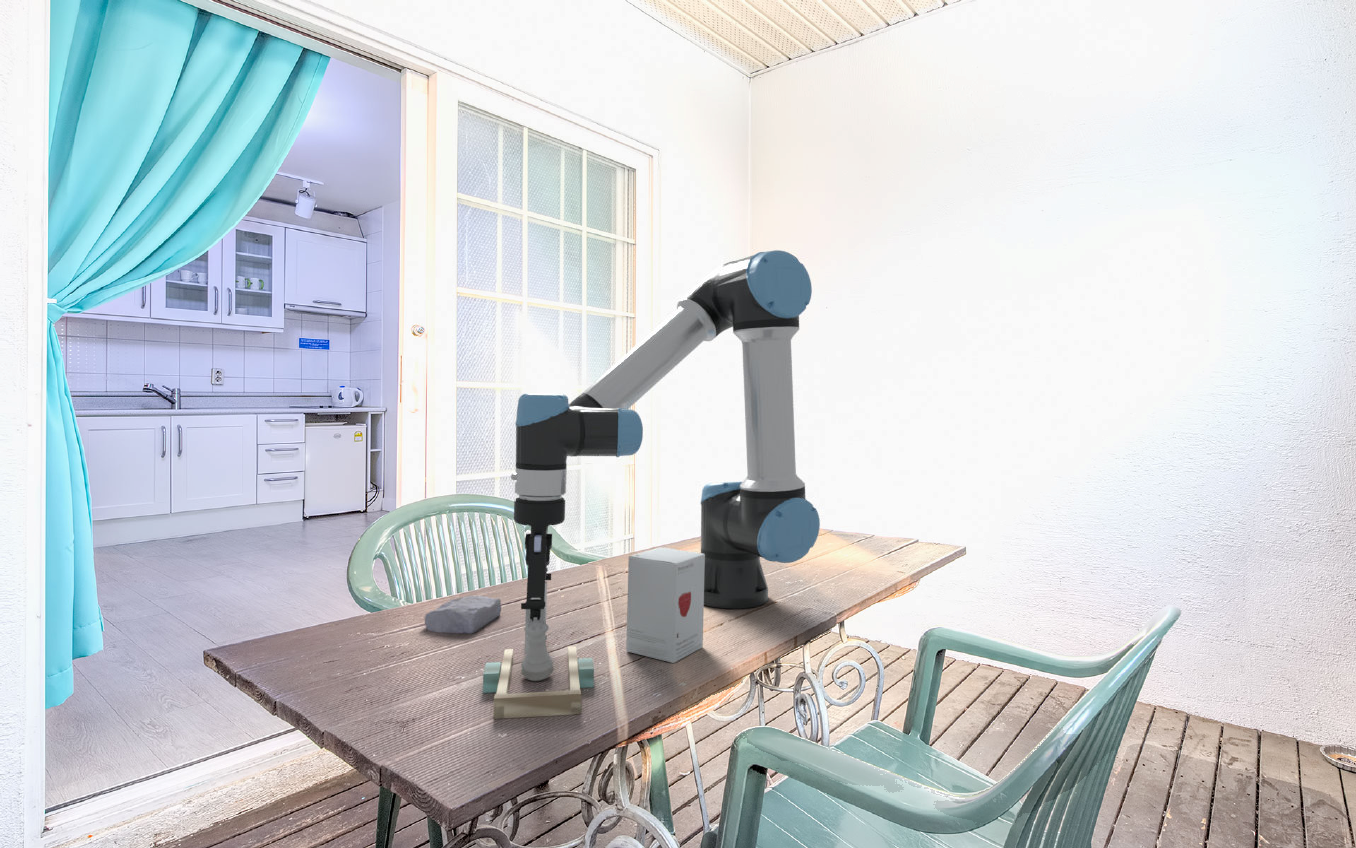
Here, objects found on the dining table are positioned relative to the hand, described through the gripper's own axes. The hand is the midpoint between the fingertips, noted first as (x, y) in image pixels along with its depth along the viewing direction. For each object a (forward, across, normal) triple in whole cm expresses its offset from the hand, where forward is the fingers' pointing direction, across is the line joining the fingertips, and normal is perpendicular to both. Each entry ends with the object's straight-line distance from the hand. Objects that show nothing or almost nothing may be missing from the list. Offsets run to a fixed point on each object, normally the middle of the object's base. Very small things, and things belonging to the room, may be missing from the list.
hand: (535, 637), depth 107 cm
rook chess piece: (+2, +9, +1) cm, 9 cm away
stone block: (+4, -17, -13) cm, 22 cm away
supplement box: (+3, 0, +20) cm, 20 cm away
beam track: (+3, +12, +1) cm, 12 cm away
